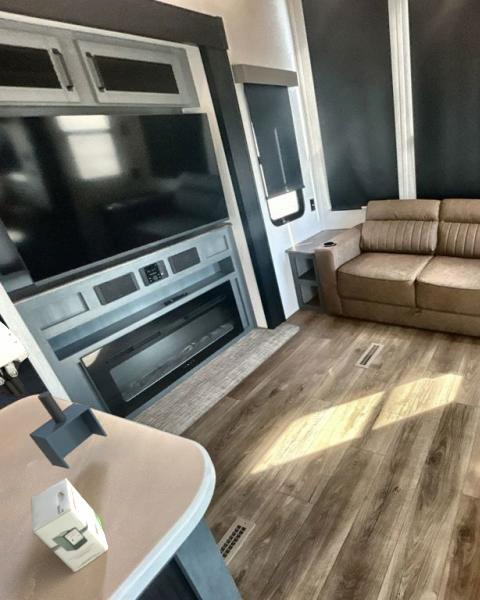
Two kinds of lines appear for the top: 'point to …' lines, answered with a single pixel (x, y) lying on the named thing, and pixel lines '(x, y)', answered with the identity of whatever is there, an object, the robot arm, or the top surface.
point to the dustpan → (64, 429)
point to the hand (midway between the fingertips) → (17, 394)
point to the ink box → (68, 525)
